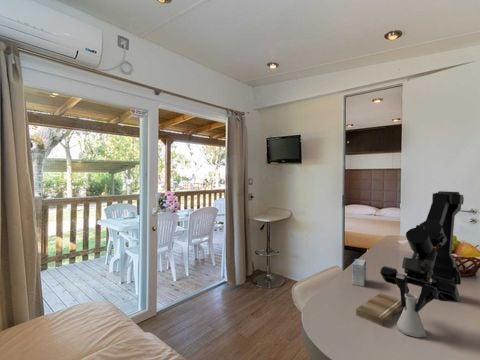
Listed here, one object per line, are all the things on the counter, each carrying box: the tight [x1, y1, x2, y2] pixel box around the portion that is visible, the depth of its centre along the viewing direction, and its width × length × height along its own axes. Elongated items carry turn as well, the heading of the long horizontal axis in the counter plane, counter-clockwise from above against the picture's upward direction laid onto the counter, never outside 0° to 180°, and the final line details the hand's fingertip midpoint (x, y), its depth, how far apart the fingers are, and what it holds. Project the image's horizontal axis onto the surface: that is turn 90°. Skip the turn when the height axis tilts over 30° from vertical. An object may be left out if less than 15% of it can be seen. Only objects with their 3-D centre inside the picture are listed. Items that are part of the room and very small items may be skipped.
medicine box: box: [351, 258, 367, 288], centre depth 107 cm, size 8×4×9 cm, turn 148°
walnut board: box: [355, 292, 404, 327], centre depth 84 cm, size 18×8×2 cm, turn 129°
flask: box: [396, 293, 427, 338], centre depth 73 cm, size 7×7×10 cm
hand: (409, 309), depth 72 cm, fingers closed on flask, 3 cm apart
